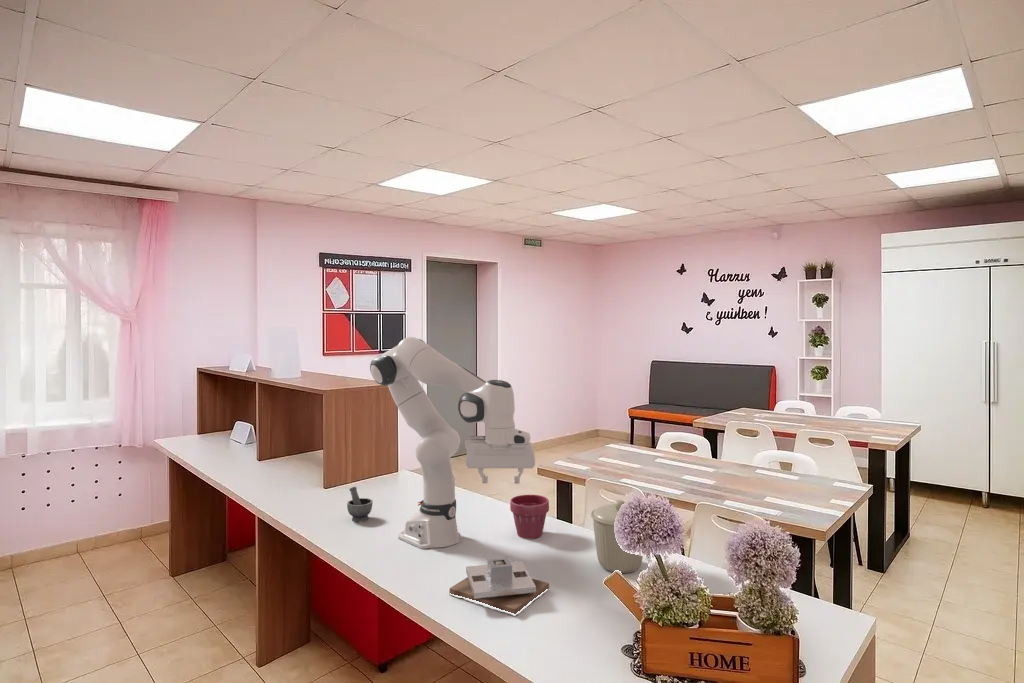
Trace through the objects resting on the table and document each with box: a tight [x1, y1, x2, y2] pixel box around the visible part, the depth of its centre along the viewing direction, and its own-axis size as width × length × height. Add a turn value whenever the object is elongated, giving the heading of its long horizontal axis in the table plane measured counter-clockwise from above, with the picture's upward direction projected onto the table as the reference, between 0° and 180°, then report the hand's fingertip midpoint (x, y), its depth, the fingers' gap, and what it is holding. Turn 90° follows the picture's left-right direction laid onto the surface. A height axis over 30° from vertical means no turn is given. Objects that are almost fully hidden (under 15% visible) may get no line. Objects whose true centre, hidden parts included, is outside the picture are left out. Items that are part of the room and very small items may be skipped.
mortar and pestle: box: [346, 486, 373, 523], centre depth 224 cm, size 11×9×12 cm
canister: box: [590, 499, 644, 574], centre depth 179 cm, size 18×18×21 cm
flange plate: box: [465, 556, 536, 599], centre depth 162 cm, size 17×17×6 cm
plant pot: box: [509, 494, 550, 540], centre depth 207 cm, size 14×14×13 cm
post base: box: [449, 561, 550, 614], centre depth 162 cm, size 22×18×8 cm
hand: (501, 483), depth 167 cm, fingers open, 8 cm apart
